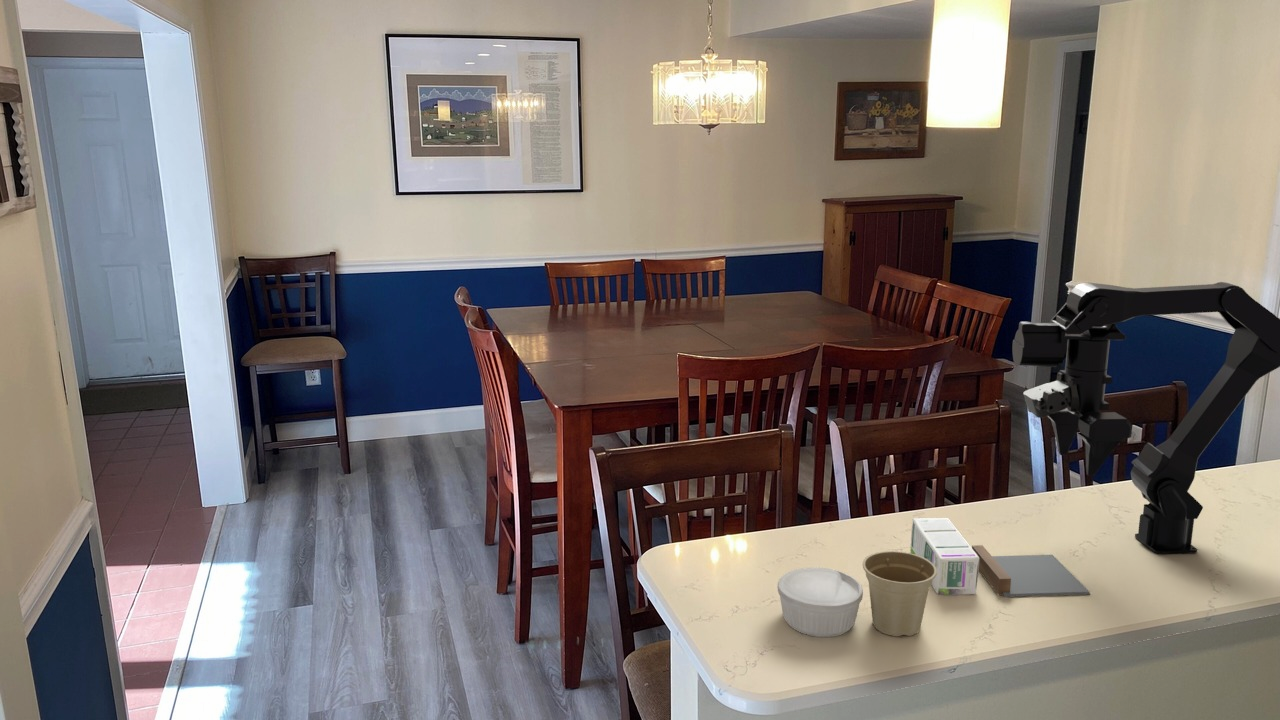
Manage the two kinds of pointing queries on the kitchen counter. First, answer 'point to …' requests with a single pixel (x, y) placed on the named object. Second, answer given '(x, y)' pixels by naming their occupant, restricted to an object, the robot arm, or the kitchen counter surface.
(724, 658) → the kitchen counter surface
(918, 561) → the flower pot
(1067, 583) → the seat mat
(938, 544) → the syrup box
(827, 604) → the ramekin
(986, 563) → the stop block
